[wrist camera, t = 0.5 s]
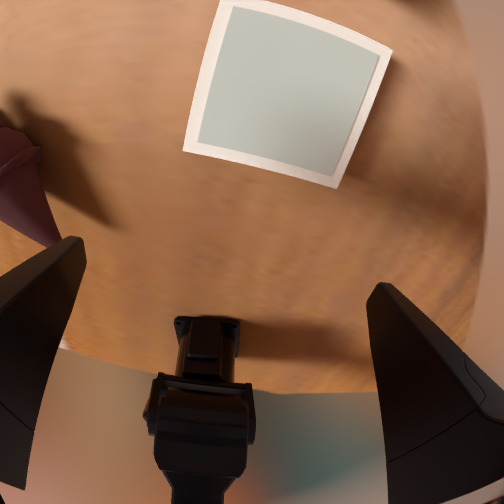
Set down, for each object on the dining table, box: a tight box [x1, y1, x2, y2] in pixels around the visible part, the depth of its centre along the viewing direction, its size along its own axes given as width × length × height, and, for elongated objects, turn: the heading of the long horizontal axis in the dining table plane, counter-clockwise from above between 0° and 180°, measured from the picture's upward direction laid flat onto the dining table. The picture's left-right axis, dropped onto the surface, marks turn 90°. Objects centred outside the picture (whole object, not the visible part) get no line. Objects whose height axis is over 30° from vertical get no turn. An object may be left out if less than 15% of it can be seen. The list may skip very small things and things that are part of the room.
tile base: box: [183, 0, 393, 189], centre depth 14 cm, size 9×9×3 cm
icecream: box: [0, 121, 62, 248], centre depth 15 cm, size 7×7×15 cm
